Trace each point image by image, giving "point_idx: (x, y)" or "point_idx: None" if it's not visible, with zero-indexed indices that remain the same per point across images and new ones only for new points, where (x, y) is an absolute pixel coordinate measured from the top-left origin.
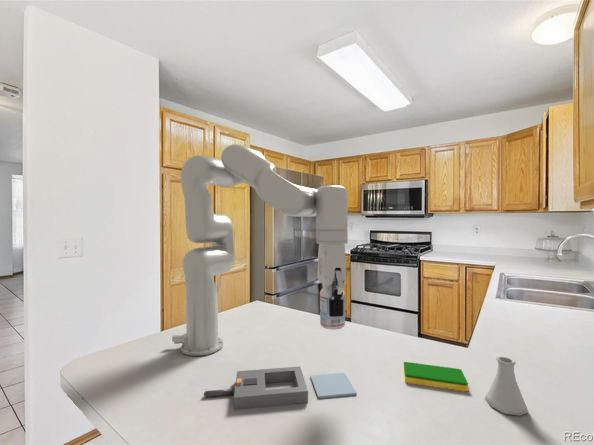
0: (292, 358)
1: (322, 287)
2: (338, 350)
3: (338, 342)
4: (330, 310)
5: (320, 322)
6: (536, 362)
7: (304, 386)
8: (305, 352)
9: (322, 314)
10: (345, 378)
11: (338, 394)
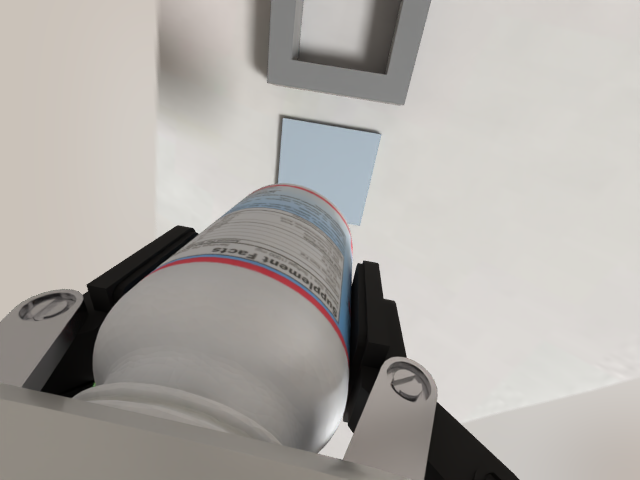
0: (519, 115)
1: (427, 397)
2: (482, 268)
3: (529, 290)
4: (158, 244)
5: (293, 186)
6: None
7: (290, 79)
8: (532, 174)
9: (247, 204)
10: None
11: (279, 169)
